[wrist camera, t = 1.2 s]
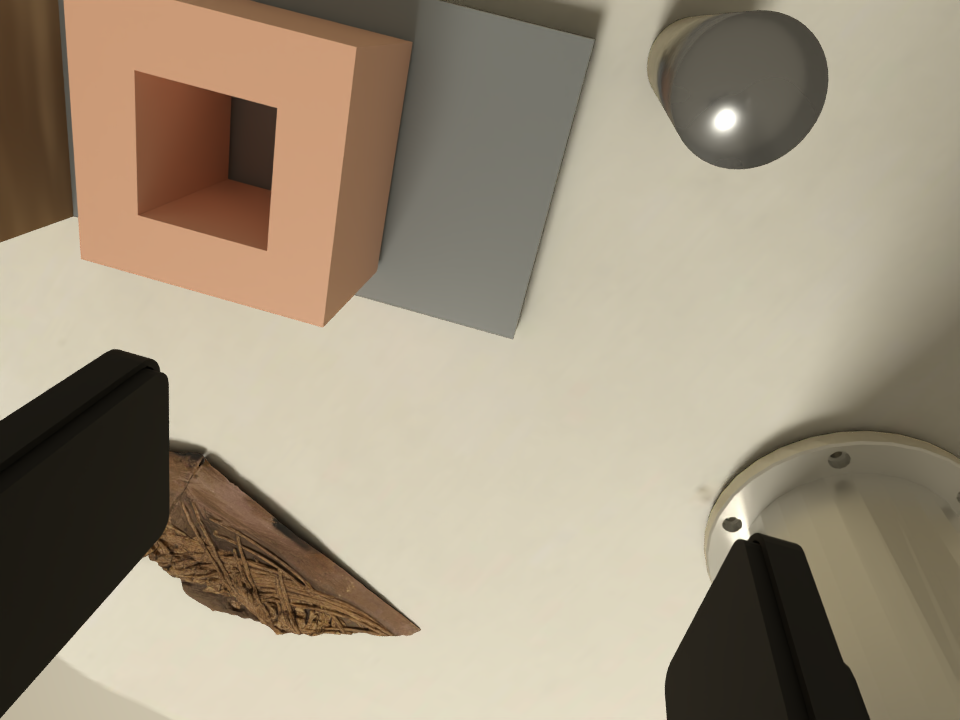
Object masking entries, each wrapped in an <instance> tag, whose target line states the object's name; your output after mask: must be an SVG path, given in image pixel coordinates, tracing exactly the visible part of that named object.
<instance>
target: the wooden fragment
mask: <svg viewBox="0 0 960 720" xmlns="http://www.w3.org/2000/svg"><path fill="white" fill-rule="evenodd" d="M204 458H205V457H204V456H203V455H201V454H199V453H190V452H187V453H181V454H179V453H176V452H171V451H169V490H170V514H169V520H168V523H167V526H166V528H165V530H164V532H163V534H162V535H161V537H160V538H159V539H158V540H157V542H156V543H155V544H154V545H153V546H152V547H151V548H150V550H149V551H148V552H147V553H146V554H145V555H144V556H143V557H146V556H147V555H149V559H150V560H152V561H156V562H158V565H159V566H161V567H162V568H163V570H165V571H166V572H167V573H168V574H169V575H171V576H172V577H177V578H180V579H181V582H182V586H183V590H184V591H185V593H186V594H187V595H189V596H190V597H191V598H193V599H195V600H196V601H198V602H199V603H201V604H203V605H205V606H207V607H208V608H210V609H211V610H212V611H220V612H225V613H229V614H231V615H238V616H240V617H241V618H251V619H253V620H254V621H258V622H261V623H262V624H265V625H267V626H269V627H270V628H271V629H272V630H273V631H274V632H275V633H276V634H277V635H279V634H285V633H291V632H292V633H294V634H299V635H301V634H306V635H309V636H317V635H320V634H323V633H329V634H338V635H340V634H349V635H352V633H359V632H360V633H368V634H372V635H376V636H400V635H405V636H408V635H412V634H414V633H416V632H418V631H420V630H421V629H420V628H418V627H417V626H415V625H414V624H413V623H412V622H410V621H409V620H408V619H407V618H405V617H404V616H403V615H402V614H400V613H399V612H398V611H396V610H394V608H392V607H391V606H389V605H388V604H387V603H385V602H384V601H383V600H381V599H380V598H379V597H378V596H377V595H376V594H374V593H373V592H371V591H370V590H368V589H367V588H366V587H364V586H363V585H362V584H361V583H360V582H358V581H357V580H356V579H354V578H353V577H352V576H351V575H350V574H348V573H347V572H346V571H345V570H344V569H342V568H341V567H339V566H338V565H336V563H334V562H332V561H331V560H330V559H329V558H327V557H326V556H325V555H323V554H321V553H320V552H319V551H318V550H316V549H314V548H313V547H311V546H310V545H309V544H308V543H306V542H305V541H304V540H302V539H300V538H299V537H297V536H296V535H295V534H294V533H293V532H292V531H291V530H289V529H288V528H287V527H286V526H284V525H283V524H281V523H280V522H279V521H278V520H277V519H276V518H275V517H274V516H272V515H271V514H270V513H268V512H267V511H266V510H265V509H264V508H263V507H261V506H260V505H259V504H258V503H257V502H256V501H254V500H253V499H252V498H250V497H249V496H248V495H247V494H245V493H244V492H242V491H241V490H240V489H239V488H238V486H234V483H230V482H229V481H228V480H227V478H226V477H225V476H223V475H222V474H221V473H220V472H219V471H217V470H216V469H215V468H213V467H212V466H211V465H210V463H209V462H208V461H207V460H206V459H205V462H204V463H203V464H202V465H201V466H200V468H199V463H200V462H201V461H202V459H204ZM143 557H142V558H143Z"/></svg>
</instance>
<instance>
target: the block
mask: <svg viewBox="0 0 960 720" xmlns="http://www.w3.org/2000/svg"><path fill="white" fill-rule="evenodd" d="M64 14H65V29H66V43H67V58H68V73H69V88H70V103H71V117H72V132H73V147H74V162H75V176H76V191H77V206H78V221H79V236H80V250H81V259H84V260H87V261H91V262H94V263H98V264H101V265H105V266H108V267H112V268H115V269H119V270H122V271H126V272H129V273H133V274H136V275H140V276H144V277H147V278H151V279H154V280H158V281H161V282H165V283H168V284H172V285H175V286H179V287H182V288H186V289H189V290H193V291H196V292H200V293H203V294H207V295H210V296H214V297H218V298H221V299H225V300H228V301H232V302H235V303H239V304H242V305H246V306H249V307H253V308H256V309H260V310H263V311H267V312H270V313H274V314H277V315H281V316H284V317H288V318H291V319H295V320H299V321H302V322H306V323H309V324H313V325H316V326H320V327H324V326H325V325H326V324H327V323H328V322H329V321H330V320H331V319H332V318H333V317H334V315H335V314H336V313H337V312H338V311H339V310H340V309H341V308H342V307H343V306H344V305H345V304H346V303H347V302H348V301H349V300H350V299H351V298H352V297H353V296H354V295H355V294H356V293H357V292H358V291H359V289H360V288H361V287H362V286H363V285H364V284H365V283H366V282H367V281H368V280H369V279H370V278H371V277H372V276H373V275H374V274H375V273H376V272H377V268H378V262H379V255H380V249H381V242H382V236H383V230H384V223H385V217H386V210H387V204H388V197H389V191H390V185H391V178H392V172H393V165H394V159H395V152H396V146H397V140H398V133H399V127H400V120H401V114H402V108H403V101H404V95H405V88H406V82H407V75H408V69H409V63H410V56H411V50H412V43H413V42H410V41H407V40H403V39H399V38H395V37H391V36H387V35H383V34H379V33H375V32H371V31H368V30H364V29H360V28H356V27H352V26H348V25H344V24H340V23H336V22H332V21H329V20H325V19H321V18H317V17H313V16H309V15H305V14H301V13H297V12H293V11H290V10H286V9H282V8H278V7H274V6H270V5H266V4H262V3H258V2H254V1H251V0H64ZM231 96H234V97H237V98H241V99H245V100H249V101H252V102H256V103H260V104H264V105H268V106H271V107H275V108H277V120H276V134H275V148H274V162H273V176H272V190H271V191H270V190H267V189H263V188H259V187H256V186H252V185H248V184H245V183H241V182H237V181H234V180H230V179H228V169H229V144H230V119H231Z"/></svg>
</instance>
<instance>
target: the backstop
mask: <svg viewBox="0 0 960 720" xmlns="http://www.w3.org/2000/svg"><path fill="white" fill-rule="evenodd" d="M70 217H73V202H72V188H71V174H70V160H69V146H68V132H67V118H66V104H65V90H64V76H63V62H62V48H61V33H60V19H59V5H58V0H0V242H3V241H5V240H8V239H11V238H14V237H17V236H19V235H22V234H25V233H28V232H31V231H33V230H36V229H39V228H42V227H45V226H48V225H50V224H53V223H56V222H59V221H62V220H64V219H67V218H70Z"/></svg>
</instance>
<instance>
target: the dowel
mask: <svg viewBox="0 0 960 720" xmlns="http://www.w3.org/2000/svg"><path fill="white" fill-rule="evenodd" d="M647 74H648V79H649V82H650V85H651V87H652V89H653V90H654V92H655V94H656V96H657V97H658V99H659V101H660V103H661V104H662V106H663V108H664V110H665V111H666V113H667V115H668V117H669V118H670V120H671V122H672V124H673V125H674V127H675V129H676V131H677V132H678V134H679V136H680V138H681V139H682V141H683V142H684V144H685V145H686V146H687V147H688V149H689V150H690V151H692V152H693V153H694V154H695V155H696V156H698V157H699V158H700V159H702V160H704V161H706V162H708V163H710V164H712V165H715V166H718V167H722V168H727V169H749V168H754V167H758V166H762V165H765V164H768V163H770V162H772V161H774V160H776V159H778V158H780V157H782V156H783V155H785V154H787V153H788V152H789V151H791V150H792V149H793V148H794V147H796V146H797V145H798V144H799V143H800V142H801V141H802V140H803V139H804V138H805V136H806V135H807V134H808V133H809V132H810V130H811V129H812V127H813V126H814V124H815V123H816V121H817V119H818V117H819V115H820V113H821V111H822V108H823V105H824V103H825V99H826V94H827V89H828V67H827V61H826V58H825V55H824V51H823V49H822V47H821V45H820V43H819V41H818V40H817V38H816V37H815V36H814V34H813V33H812V32H811V31H810V30H809V29H808V28H807V27H806V26H805V25H804V24H802V23H801V22H799V21H798V20H796V19H794V18H792V17H790V16H788V15H785V14H782V13H779V12H774V11H761V10H757V11H746V12H735V13H724V14H713V15H702V16H692V17H686V18H682V19H680V20H677V21H675V22H673V23H672V24H670V25H669V26H667V27H666V28H665V29H664V30H663V31H662V32H661V33H660V34H659V35H658V37H657V38H656V40H655V41H654V43H653V45H652V47H651V49H650V52H649V56H648V61H647Z"/></svg>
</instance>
